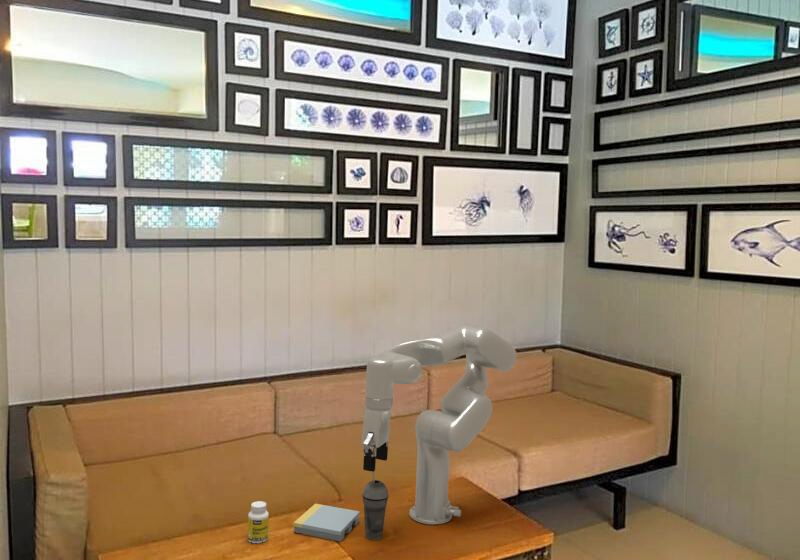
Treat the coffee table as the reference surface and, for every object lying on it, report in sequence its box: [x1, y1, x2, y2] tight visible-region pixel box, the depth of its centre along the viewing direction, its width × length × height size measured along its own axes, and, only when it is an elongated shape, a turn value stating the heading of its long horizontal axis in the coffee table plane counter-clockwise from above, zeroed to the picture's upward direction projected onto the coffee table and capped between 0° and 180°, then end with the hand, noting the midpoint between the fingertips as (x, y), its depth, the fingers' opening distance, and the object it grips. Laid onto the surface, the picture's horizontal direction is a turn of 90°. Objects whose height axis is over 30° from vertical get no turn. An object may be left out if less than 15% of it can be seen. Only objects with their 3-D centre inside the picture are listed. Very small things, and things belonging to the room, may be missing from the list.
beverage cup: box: [361, 471, 389, 541], centre depth 183 cm, size 7×7×20 cm
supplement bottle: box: [246, 500, 270, 544], centre depth 179 cm, size 5×5×10 cm
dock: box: [293, 503, 361, 543], centre depth 188 cm, size 14×14×3 cm
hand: (375, 464), depth 182 cm, fingers open, 9 cm apart
